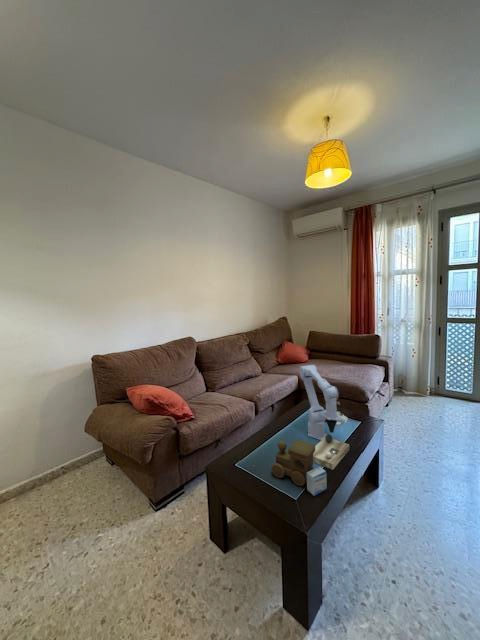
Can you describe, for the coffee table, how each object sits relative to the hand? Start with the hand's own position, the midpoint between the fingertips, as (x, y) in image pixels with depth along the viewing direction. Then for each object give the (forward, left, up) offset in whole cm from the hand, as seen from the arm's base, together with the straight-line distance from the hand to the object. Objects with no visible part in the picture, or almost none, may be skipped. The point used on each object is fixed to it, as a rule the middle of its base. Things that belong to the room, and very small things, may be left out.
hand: (331, 431), depth 144 cm
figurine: (-15, +36, -10) cm, 40 cm away
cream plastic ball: (+4, -13, -5) cm, 15 cm away
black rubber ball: (-2, +1, -5) cm, 5 cm away
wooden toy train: (-5, -33, -10) cm, 35 cm away
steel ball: (+4, -6, -8) cm, 11 cm away
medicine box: (+8, -34, -10) cm, 37 cm away
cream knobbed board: (+1, -6, -10) cm, 12 cm away
